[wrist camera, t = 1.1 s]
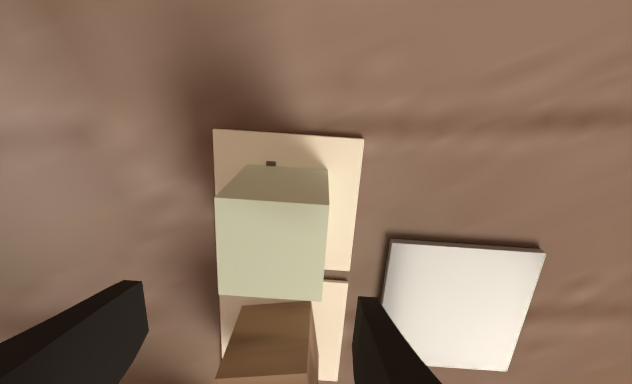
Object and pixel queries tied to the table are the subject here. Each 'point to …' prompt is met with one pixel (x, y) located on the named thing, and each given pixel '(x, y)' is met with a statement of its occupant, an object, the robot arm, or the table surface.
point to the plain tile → (325, 321)
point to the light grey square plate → (460, 300)
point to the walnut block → (272, 346)
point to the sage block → (272, 233)
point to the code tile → (301, 153)
